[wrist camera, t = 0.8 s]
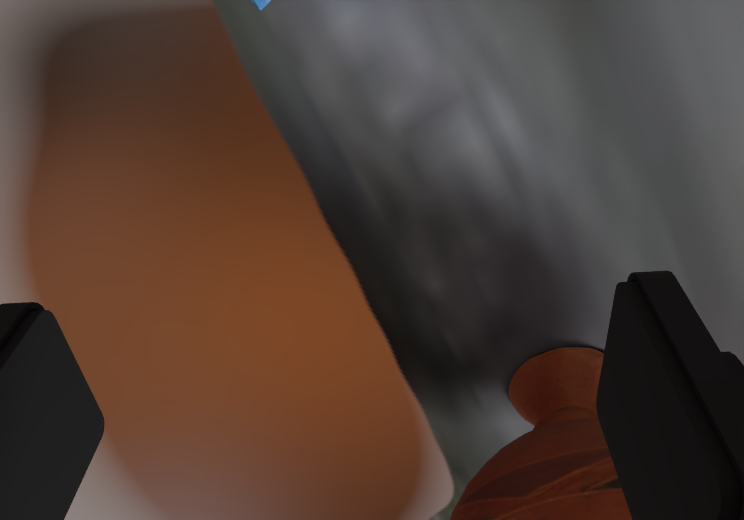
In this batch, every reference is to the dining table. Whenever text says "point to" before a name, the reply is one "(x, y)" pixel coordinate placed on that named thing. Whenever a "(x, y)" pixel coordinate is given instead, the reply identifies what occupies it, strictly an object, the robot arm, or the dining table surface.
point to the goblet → (551, 449)
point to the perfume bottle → (260, 3)
